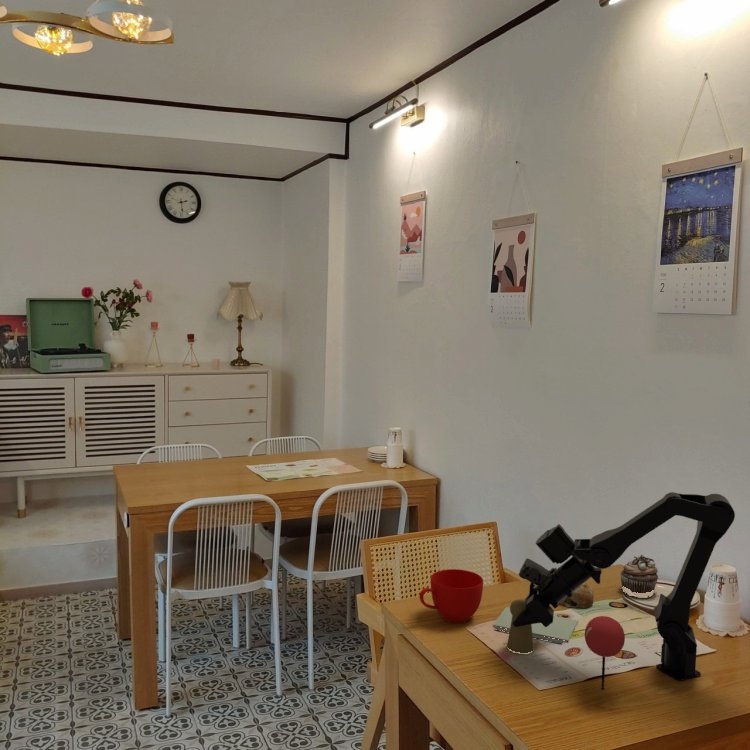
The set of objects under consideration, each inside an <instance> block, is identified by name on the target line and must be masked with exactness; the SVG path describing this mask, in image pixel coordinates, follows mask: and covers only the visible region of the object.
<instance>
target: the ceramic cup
mask: <svg viewBox="0 0 750 750" xmlns="http://www.w3.org/2000/svg"><path fill="white" fill-rule="evenodd" d="M483 589H484V579H483V577H482V576H481V575H479V574H478V573H476V572H474V571H470V570H466V569H465V570H464V569H459V568H457V569H456V568H451V569H450V568H449V569H448V568H447V569H441V570H438V571H435V572H434V573H432V574H431V576H430V587H426V588H422V590H421V591H420V593H419V600H420V603H421V604H422V605H423V606H424V607H426V608H428V609H431V610H436V611H437V612H438V614H439V615H440V616H441V617H442V619H443V620H444V621H447V622H449V623H453V624H462V623H466V622H468V621H469V620H470V618H472V617H473V616H474V615H475V613H476V612H477V610H478V609H479V607H480V604H481V602H482V597H483V591H484V590H483ZM427 592H430V593H431V599H432V602H433V605H432V604H429V603H426V601H425V599H424V596H425V594H426V593H427Z"/></svg>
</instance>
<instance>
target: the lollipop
mask: <svg viewBox="0 0 750 750" xmlns="http://www.w3.org/2000/svg"><path fill="white" fill-rule="evenodd" d="M625 639H626V634H625V630H624V629H623V626H622V625H621V623H619V622H618V621H617V619H615V618H612V617H609V616H606V615H605V616H604V615H600V616H599V615H598V616H596V617H593V618H592V619H590V620H589V621H588V623H587V624H586V627H585V630H584V640H585V644H586V646H587V647H588V649H589V650H590V652H593V654H595V655H597V656H600V657H602V659H601V661H602V662H601V664H602V665H601V688H600V689H601V690H605V671H606V670H605V669H606V658H611V657H614V656H616V655H618V654H620V652H621V651H622V650H623V648H624V645H625V642H626V641H625Z"/></svg>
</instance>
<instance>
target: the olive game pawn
mask: <svg viewBox="0 0 750 750" xmlns="http://www.w3.org/2000/svg"><path fill="white" fill-rule="evenodd" d="M509 607H510V612H511V614H512V620H511V626H510V632H509V633H508V638H507V639H508V640H507V644H506V645H507V646H506V648H507V647H508V648H509V649H511V650H512V651H515V652H520V653H528V652H531V651H533V650H534V651H535V647H534V639H533V635H532V625H531V624H529V625H524V626H519V627H515V626H514V625H513V624H512V623H513V621H514V620H515V619H516V618H517V617H518V615H519V614H520V613H521V612H522V611H523V610H524V609H525V608H526V600H525V599H516V600H515V599H514V600H513V601H512V602H511V603H510V606H509ZM534 651H533V652H534Z"/></svg>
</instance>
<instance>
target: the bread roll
mask: <svg viewBox="0 0 750 750" xmlns="http://www.w3.org/2000/svg"><path fill="white" fill-rule="evenodd" d="M559 604H560V605H562V606H564V607H566V608H573V609H587V608H586V607H588V608H590V607H592V606H593V604H594V591H593V589H592V587H591V586H590V585H589V584H588V583H587V581H586V582H584V583H583V584H582V585H581V586H579V587H578V588H577V589H575V590H574V591H573V595H572V596H571V597H568V596H567V597H565V598H564V599H563V600H561V601H560V602H559ZM591 605H592V606H591Z"/></svg>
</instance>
